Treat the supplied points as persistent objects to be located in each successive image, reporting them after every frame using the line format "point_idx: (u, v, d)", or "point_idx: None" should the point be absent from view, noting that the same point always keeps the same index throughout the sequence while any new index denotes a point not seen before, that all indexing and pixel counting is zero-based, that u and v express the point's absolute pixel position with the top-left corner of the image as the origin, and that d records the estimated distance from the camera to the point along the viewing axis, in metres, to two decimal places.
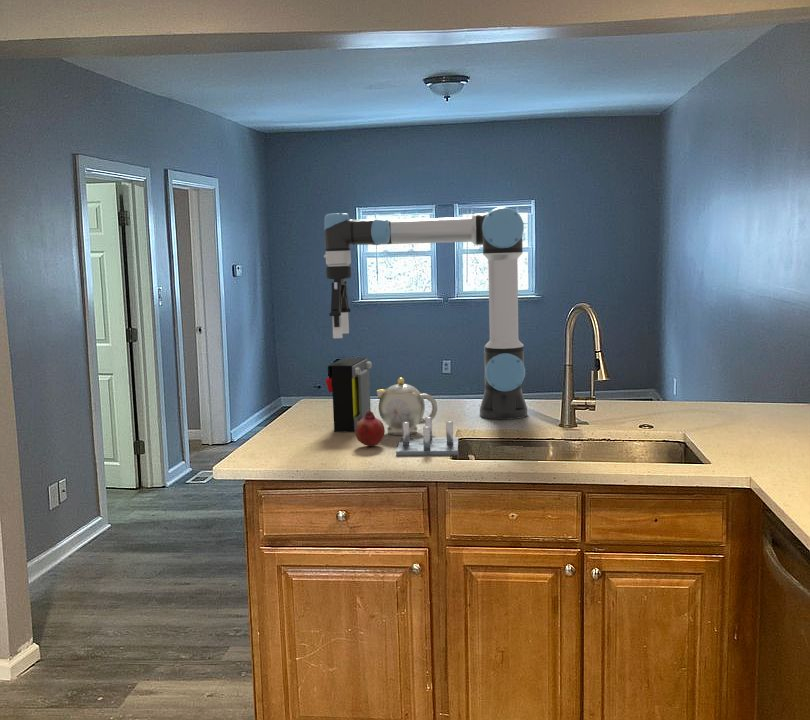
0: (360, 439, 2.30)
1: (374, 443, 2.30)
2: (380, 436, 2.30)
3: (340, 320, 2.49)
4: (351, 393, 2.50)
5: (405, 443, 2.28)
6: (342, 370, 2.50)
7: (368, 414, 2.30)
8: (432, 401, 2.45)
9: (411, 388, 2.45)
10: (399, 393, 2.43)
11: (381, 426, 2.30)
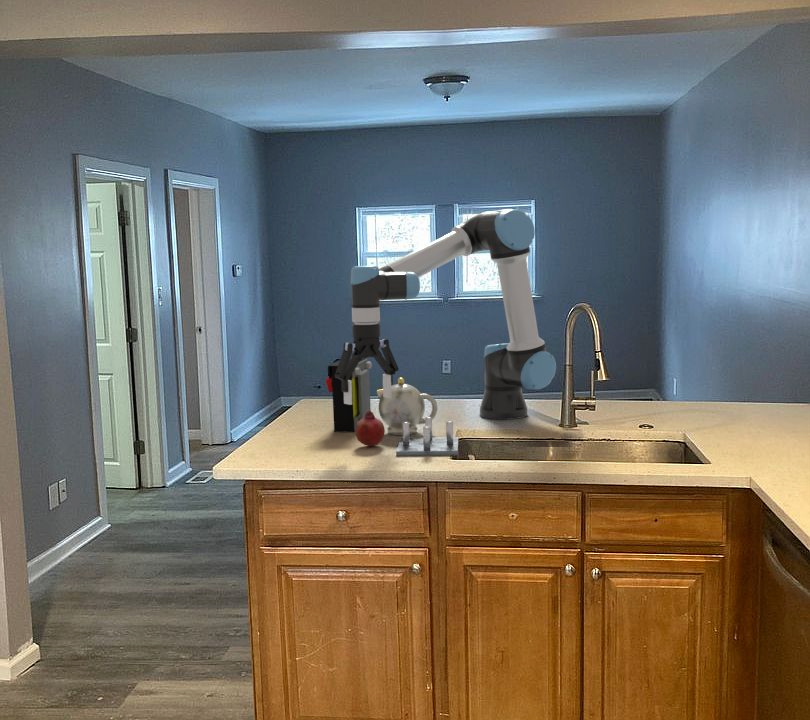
0: (360, 439, 2.30)
1: (374, 443, 2.30)
2: (380, 436, 2.30)
3: (348, 385, 2.25)
4: None
5: (405, 443, 2.28)
6: None
7: (368, 414, 2.30)
8: (432, 401, 2.45)
9: (411, 388, 2.45)
10: (399, 393, 2.43)
11: (381, 426, 2.30)
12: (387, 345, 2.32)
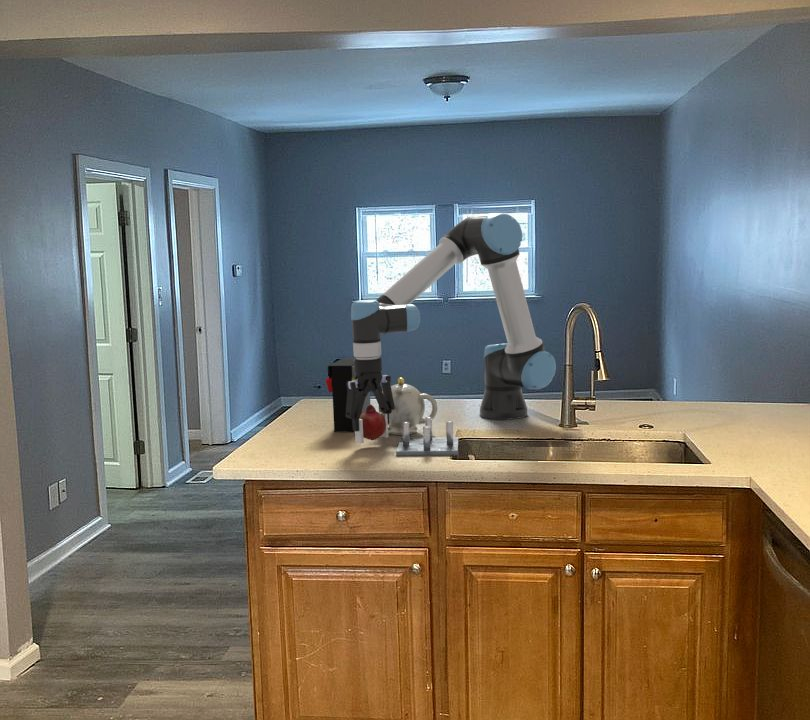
0: None
1: (376, 437, 2.30)
2: (381, 430, 2.30)
3: (359, 424, 2.28)
4: None
5: (405, 443, 2.28)
6: (342, 370, 2.50)
7: (369, 408, 2.30)
8: (432, 401, 2.45)
9: (411, 388, 2.45)
10: (399, 393, 2.43)
11: (382, 420, 2.30)
12: (388, 382, 2.33)
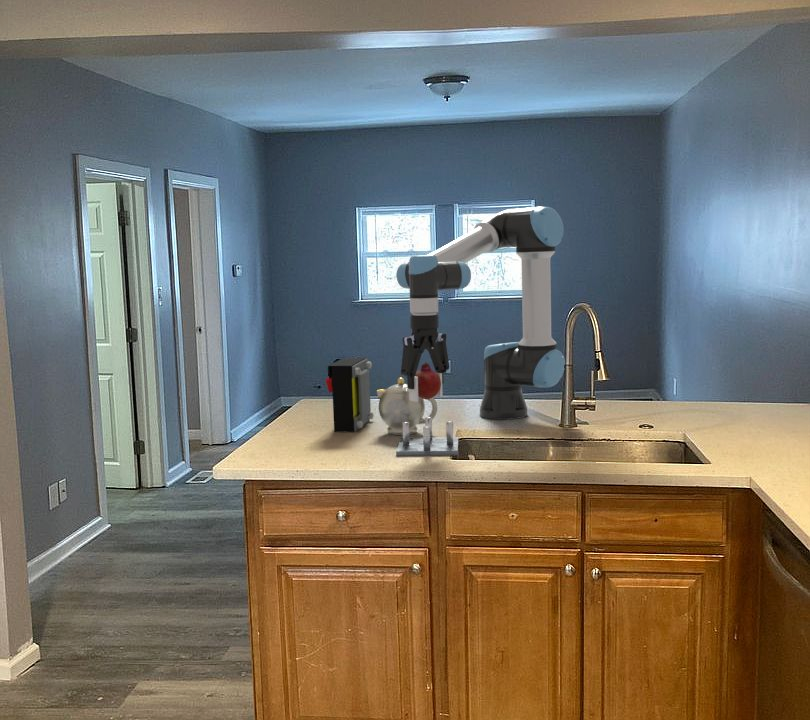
0: None
1: (431, 395, 2.24)
2: (437, 388, 2.24)
3: (415, 381, 2.22)
4: (351, 393, 2.50)
5: (405, 443, 2.28)
6: (342, 370, 2.50)
7: (424, 366, 2.24)
8: (432, 401, 2.45)
9: None
10: (399, 393, 2.43)
11: (438, 378, 2.24)
12: (444, 340, 2.28)
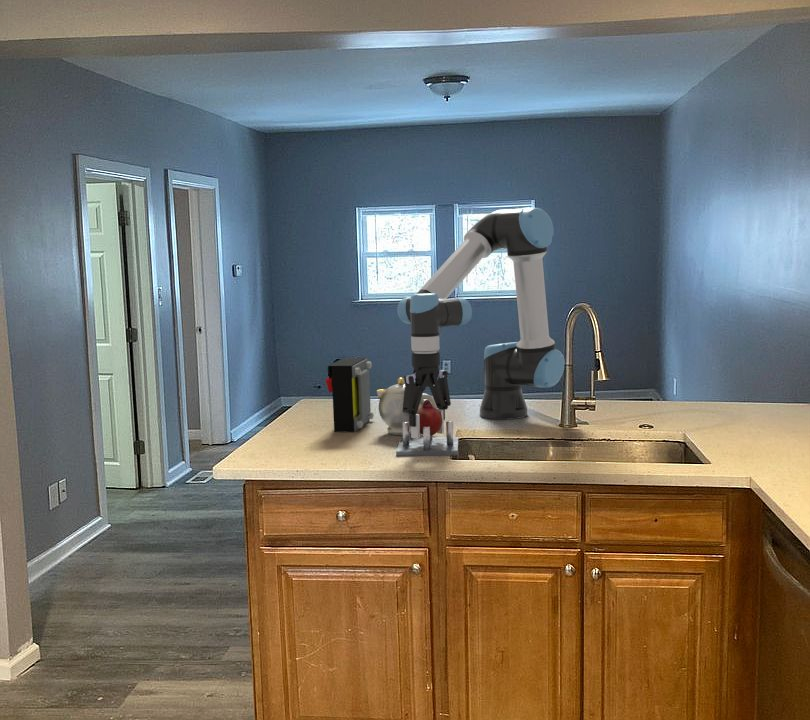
0: None
1: (432, 433, 2.25)
2: (438, 425, 2.25)
3: (416, 419, 2.23)
4: (351, 393, 2.50)
5: (405, 443, 2.28)
6: (342, 370, 2.50)
7: (426, 403, 2.26)
8: (432, 401, 2.45)
9: None
10: (399, 393, 2.43)
11: (439, 415, 2.26)
12: (445, 377, 2.29)
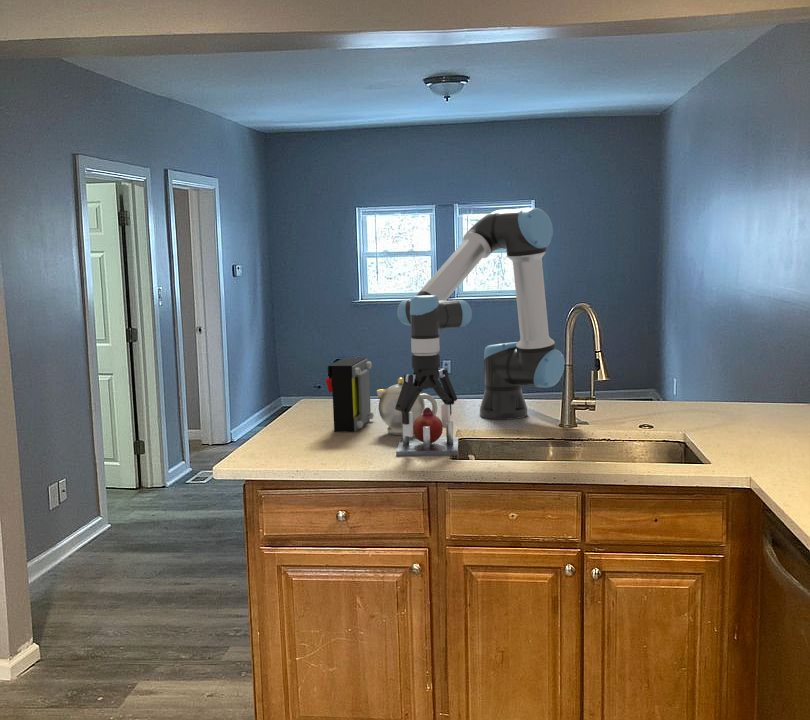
0: (418, 436, 2.25)
1: (432, 440, 2.25)
2: (439, 433, 2.25)
3: (409, 417, 2.22)
4: (351, 393, 2.50)
5: (405, 443, 2.28)
6: (342, 370, 2.50)
7: (426, 411, 2.26)
8: (432, 401, 2.45)
9: None
10: (399, 393, 2.43)
11: (440, 423, 2.26)
12: (446, 375, 2.29)
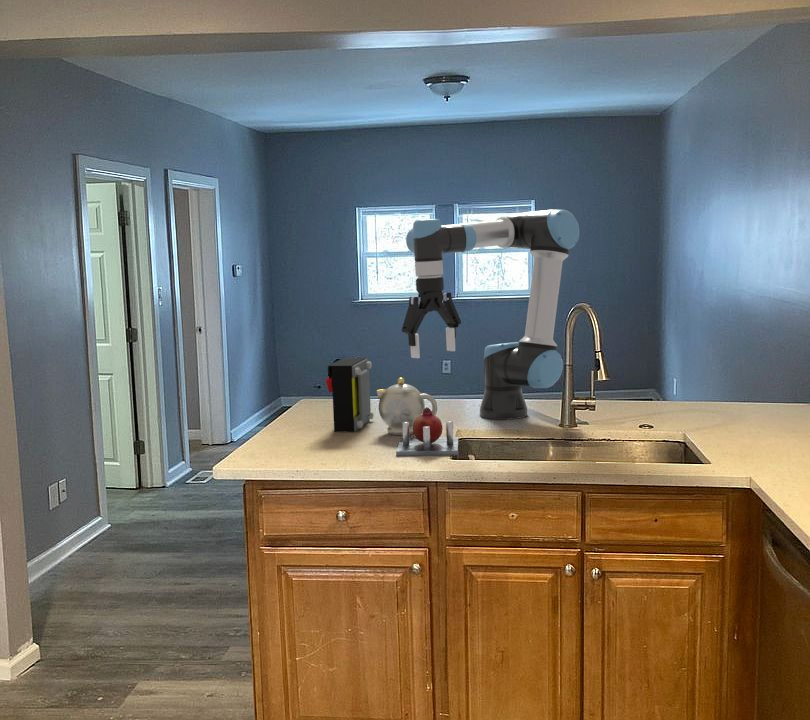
0: (418, 436, 2.25)
1: (432, 440, 2.25)
2: (438, 433, 2.25)
3: (416, 339, 2.26)
4: (351, 393, 2.50)
5: (405, 443, 2.28)
6: (342, 370, 2.50)
7: (426, 411, 2.26)
8: (432, 401, 2.45)
9: (411, 388, 2.45)
10: (399, 393, 2.43)
11: (439, 423, 2.26)
12: (450, 299, 2.33)
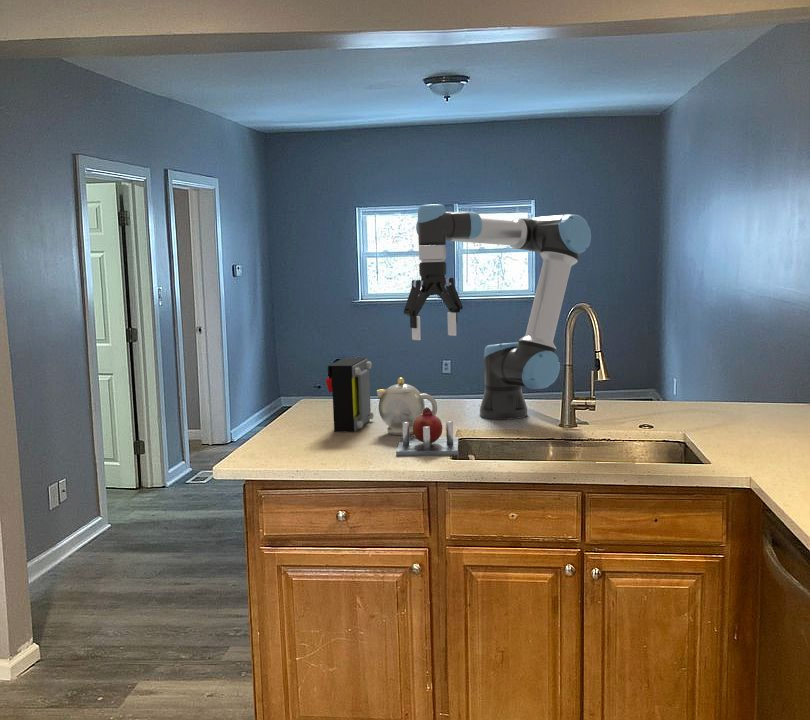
0: (418, 436, 2.25)
1: (432, 440, 2.25)
2: (438, 433, 2.25)
3: (417, 321, 2.30)
4: (351, 393, 2.50)
5: (405, 443, 2.28)
6: (342, 370, 2.50)
7: (426, 411, 2.26)
8: (432, 401, 2.45)
9: (411, 388, 2.45)
10: (399, 393, 2.43)
11: (439, 423, 2.26)
12: (452, 284, 2.38)
